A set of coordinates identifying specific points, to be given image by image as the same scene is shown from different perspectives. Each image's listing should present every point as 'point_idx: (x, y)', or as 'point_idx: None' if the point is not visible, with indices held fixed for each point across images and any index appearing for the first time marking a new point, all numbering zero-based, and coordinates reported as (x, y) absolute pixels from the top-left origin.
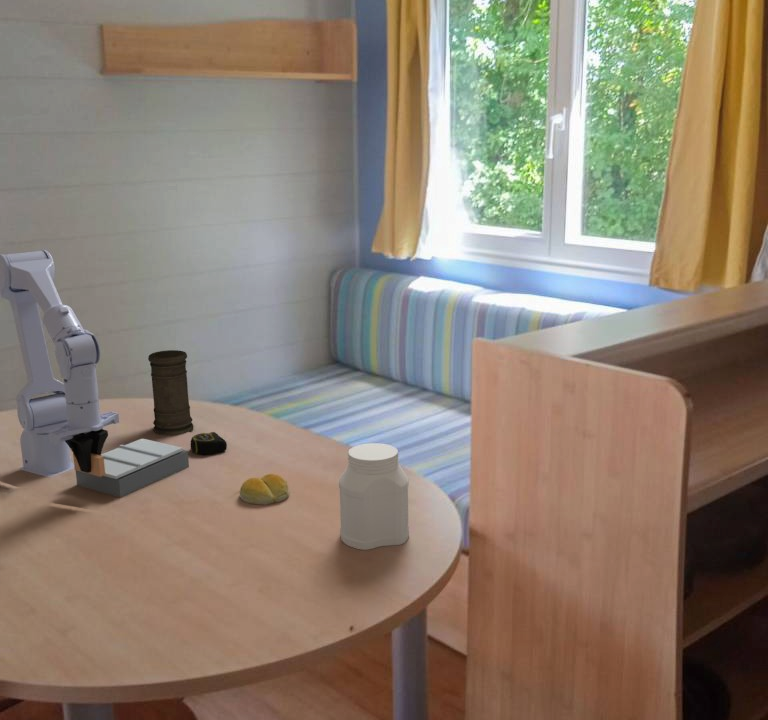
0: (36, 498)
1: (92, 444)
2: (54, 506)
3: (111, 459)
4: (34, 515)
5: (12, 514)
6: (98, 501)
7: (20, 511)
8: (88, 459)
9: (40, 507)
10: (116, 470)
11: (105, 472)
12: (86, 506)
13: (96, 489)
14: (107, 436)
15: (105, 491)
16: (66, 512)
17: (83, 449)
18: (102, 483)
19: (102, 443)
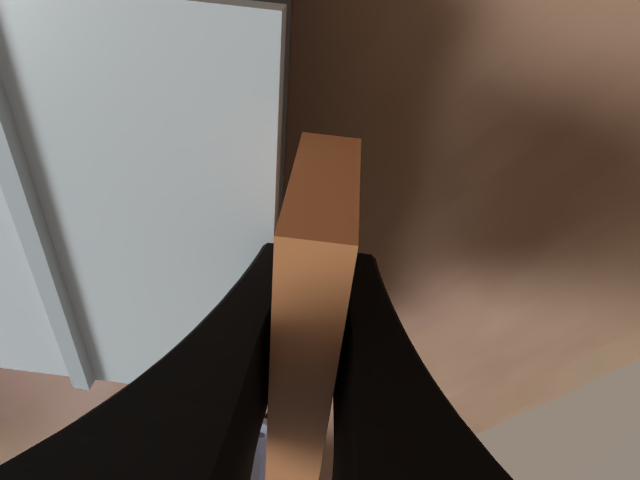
0: (442, 363)
1: (238, 462)
2: (505, 257)
3: (64, 285)
4: (632, 268)
5: (630, 346)
6: (369, 95)
7: (591, 339)
8: (385, 328)
9: (531, 300)
10: (177, 111)
11: (262, 166)
12: (460, 109)
13: (279, 194)
14: (16, 460)
15: (283, 121)
16: (570, 155)
17: (492, 459)
18: None
19: (151, 400)
